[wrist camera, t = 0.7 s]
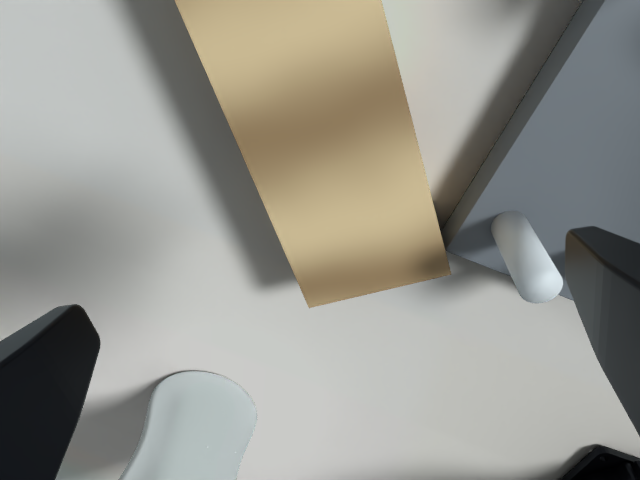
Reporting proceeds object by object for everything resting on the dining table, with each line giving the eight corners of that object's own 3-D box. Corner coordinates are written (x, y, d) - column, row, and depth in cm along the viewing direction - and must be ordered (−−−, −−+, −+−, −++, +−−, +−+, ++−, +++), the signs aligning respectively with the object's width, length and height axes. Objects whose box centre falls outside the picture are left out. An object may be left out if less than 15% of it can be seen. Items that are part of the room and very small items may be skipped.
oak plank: (440, 236, 23) (451, 274, 20) (314, 268, 24) (309, 308, 21) (346, -128, 16) (345, -140, 14) (180, -57, 17) (150, -56, 15)
